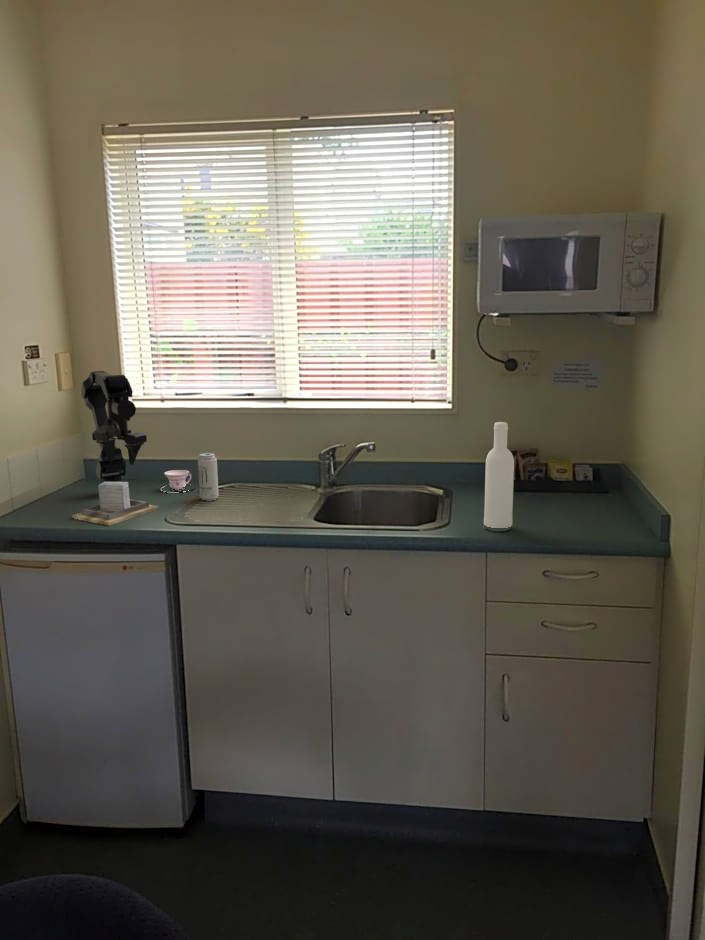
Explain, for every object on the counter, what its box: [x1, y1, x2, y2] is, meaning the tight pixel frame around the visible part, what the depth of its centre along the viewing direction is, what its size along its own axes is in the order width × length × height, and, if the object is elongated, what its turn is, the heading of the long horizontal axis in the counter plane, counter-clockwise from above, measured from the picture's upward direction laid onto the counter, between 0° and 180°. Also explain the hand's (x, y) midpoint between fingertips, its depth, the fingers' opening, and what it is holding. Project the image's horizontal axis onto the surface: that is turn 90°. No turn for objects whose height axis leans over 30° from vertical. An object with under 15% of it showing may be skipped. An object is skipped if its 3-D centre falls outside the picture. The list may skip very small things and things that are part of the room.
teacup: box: [159, 469, 193, 494], centre depth 264 cm, size 12×12×6 cm
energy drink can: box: [197, 452, 220, 502], centre depth 249 cm, size 6×6×15 cm
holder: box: [71, 498, 160, 526], centre depth 235 cm, size 16×20×2 cm
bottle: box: [483, 421, 515, 528], centre depth 212 cm, size 8×8×30 cm
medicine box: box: [97, 481, 131, 512], centre depth 234 cm, size 8×4×9 cm, turn 83°
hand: (121, 463), depth 246 cm, fingers open, 9 cm apart
